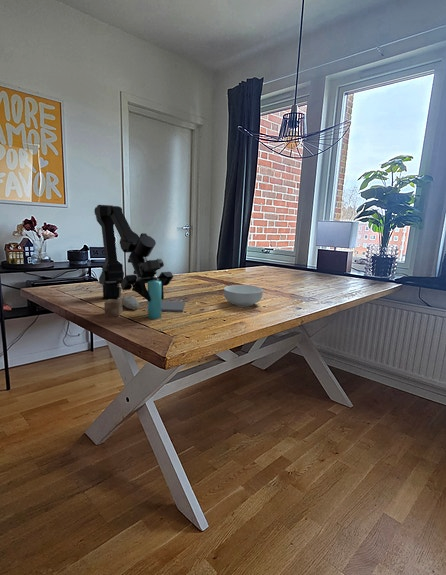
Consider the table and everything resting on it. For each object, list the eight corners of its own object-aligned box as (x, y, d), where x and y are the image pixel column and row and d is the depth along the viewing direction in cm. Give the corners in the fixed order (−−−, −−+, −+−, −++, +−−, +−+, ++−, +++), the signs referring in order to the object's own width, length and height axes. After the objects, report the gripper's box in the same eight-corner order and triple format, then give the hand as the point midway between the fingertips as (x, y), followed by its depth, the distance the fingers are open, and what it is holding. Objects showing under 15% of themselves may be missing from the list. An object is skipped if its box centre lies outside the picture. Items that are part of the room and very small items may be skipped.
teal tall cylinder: (146, 318, 116) (146, 282, 113) (149, 314, 121) (148, 279, 118) (160, 319, 116) (160, 283, 114) (162, 315, 121) (162, 280, 118)
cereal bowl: (227, 298, 151) (228, 283, 150) (263, 301, 148) (264, 286, 147) (219, 307, 135) (220, 290, 134) (259, 311, 132) (261, 294, 131)
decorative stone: (127, 312, 124) (127, 303, 123) (119, 302, 137) (118, 294, 136) (143, 310, 127) (143, 302, 126) (133, 301, 140) (133, 293, 139)
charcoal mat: (148, 310, 126) (148, 308, 126) (154, 302, 138) (154, 300, 138) (182, 311, 126) (182, 309, 126) (185, 303, 139) (185, 301, 139)
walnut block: (104, 316, 117) (104, 302, 116) (108, 312, 122) (108, 299, 121) (118, 316, 117) (118, 303, 116) (122, 312, 122) (122, 299, 121)
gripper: (123, 251, 110) (140, 290, 105) (170, 250, 123) (187, 284, 117) (114, 271, 118) (129, 308, 112) (159, 268, 130) (175, 301, 124)
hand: (156, 299), depth 116 cm, fingers closed on teal tall cylinder, 5 cm apart
